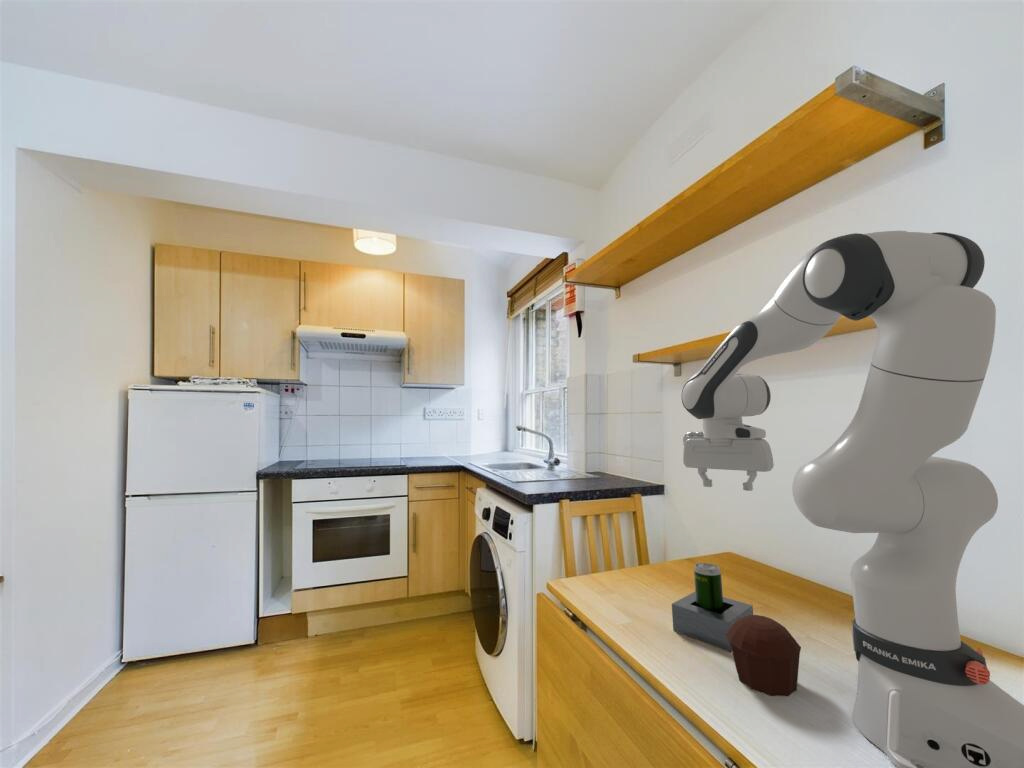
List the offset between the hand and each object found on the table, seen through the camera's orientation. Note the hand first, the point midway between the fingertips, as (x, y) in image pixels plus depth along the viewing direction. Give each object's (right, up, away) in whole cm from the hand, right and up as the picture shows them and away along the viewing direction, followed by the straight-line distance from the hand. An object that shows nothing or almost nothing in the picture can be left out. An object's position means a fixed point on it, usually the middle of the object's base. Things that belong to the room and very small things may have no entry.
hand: (727, 488), depth 100 cm
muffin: (-8, -26, -29) cm, 40 cm away
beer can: (-9, -27, -11) cm, 30 cm away
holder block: (-9, -28, -11) cm, 31 cm away
